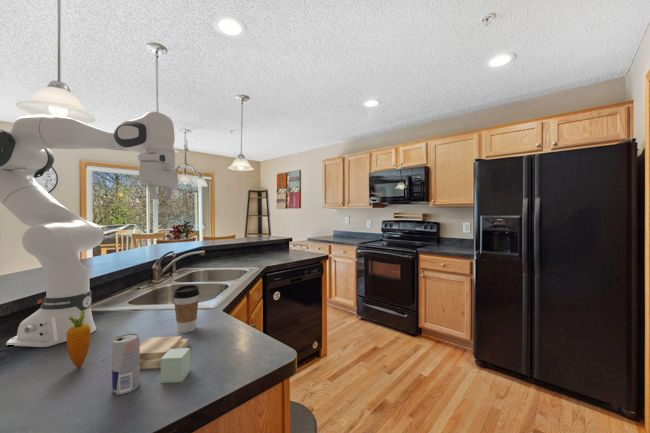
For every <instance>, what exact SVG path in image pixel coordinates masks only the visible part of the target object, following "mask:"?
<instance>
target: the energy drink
mask: <svg viewBox="0 0 650 433" xmlns="http://www.w3.org/2000/svg"><path fill="white" fill-rule="evenodd" d="M139 345H140V336H139V334H138V333H126V334H121V335H119V336H117V337H114V338H113V340H112V343H111V390H112V393H113V394H114V395H116V396H121V395H127V394H129V393H131V392H133V391H136V390H137V388H139V386H140V385H141V369H140V347H139ZM126 393H127V394H126Z"/></svg>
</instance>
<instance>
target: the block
mask: <svg viewBox="0 0 650 433" xmlns="http://www.w3.org/2000/svg"><path fill="white" fill-rule="evenodd" d="M190 371H191V348H190V347H187V348H178V349H170V350H169V351H168V352H167V353H166V354H165V355H164V356H163V357H162V358H161V368H160V384H166V383H182V382H184V380H185V379H186V377H187V376H188V375H189V373H190Z"/></svg>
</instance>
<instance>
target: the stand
mask: <svg viewBox="0 0 650 433" xmlns="http://www.w3.org/2000/svg"><path fill="white" fill-rule="evenodd" d="M189 346H190V338H183V336H182V335H179V336H157V337H156V336H155V337H147V338H146V339H144V340H143V341H142V342H141V343H139V347H140V370H146V369H148V370H149V369H150V370H151V369H161V358H162V357H163V356H164V355H165V354H166V353H167V352H168V351H169V350H170V349H178V348H189Z"/></svg>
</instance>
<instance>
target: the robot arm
mask: <svg viewBox="0 0 650 433" xmlns="http://www.w3.org/2000/svg"><path fill="white" fill-rule="evenodd" d="M175 138H176V137H175V127H174V123H173V120H172V118H170V117H169V116H168V115H165V114H164V113H162V112H158V111H147V112H146V113H145V114H143V115H142V116H141V117H138V118H135V119H130V120H123V121H121V122H119V123H118V124H117V125H115V127H114V130H113V131H107V130H104V129H101V128H98V127H96V126H93V125H90V124H88V123H85V122H83V121H81V120H78V119H75V118H71V117H68V116H64V115H63V116H62V115H56V114H55V115H54V114H34V115H33V114H32V115H25V116H20V117H18V118H16V119H15V120H14V121H13V123H12V128H11V130H9V131H7V130H5V129H3V128H2V129H1V128H0V203H1V204H2V205H3V206H4V207H5V208H6V209H7V210H8V211H9V212H10V213H12V215H13V216H14V217H15V218H16V219H17V220H19V222H21V223H22V224H24V225H26V226H28V227H29V228H28V229H26V231H24V233H23V235H22V238H21V242H22V243H21V244H22V247H23V249H24V250H25V251H26V252H27V253H28V254H30V255H31V256H34V257H35V258H36V259H37V261H38V262H39V263H40V265H41V267H42V269H43V272H44V277H45V292H46V293H45V294H46V296H44V297H42V298H40V299H38V300H36V301H37V303H36V304H40V303H41V305H40V308H38V309H37V310H36V311H35V312H34V313H32V314H31V315H29V316H27V317H26V318H24V319H23V320H22V321H21V322H20V323H19V326H18V328H17V331H16V332H17V334H16V336H13V337H11V338H9V340H7V341H6V344H5V345H6V346H8V345H14V346H13V347H33V348H47V347H52V346H55V345H58V344H61V343H64V342H65V343H67V331H68V329H69V328H70V327H72V326H75V325H74V324H73V322H72V321H71V320H70V319H68V317H69V316H70V317H74V319H78V320H79V317H80V315H81V311H85V316H84V319H83V322H82V324H88V325H90V334H92V333H94V332H95V331H96V330H97V327H96V325H95V322H94V318H93V314H92V309H91V308H92V290H91V289H90V284H91V283H90V269H89V267H88V266H87V265H84V264H83V263H82V262H81V260H80V257H79V253H80V252H81V253H82V252H87V251H90V250H92V249H94V248H96V247H98V246H99V245H101V244H102V242H103V241H104V238H105V232H104V230H103V228H102V227H101V226H100V225H99V224H97V223H94V222H91V221H89V220H87V219H85V218H83V217H81V216H80V215H78V214H76V213H75V212H73V211H72V210H70V209H68V208H67V207H65V206H64V205H63V204H62V203H60V202H58V200H56V199H55V198H54V197H53V196H52V195H51V194H50V193H49V192H47V191H46V190H45V188H43V187H42V186H41V185H40V184H39V183H38V182H37V181H36V180H35V179H36V178H40V177H43V176H44V174H45V173H46V172H48V171H49V170H51V168H52V167H53V165H54V163H55V154H54V153H53V152H52V151H51V149H54V150H116V151H124V152H135V153H137V161H138V162H139V163H138V176H139V181H140V183H141V184H142V185H147V188H148V189H147V190H148V192H149V194H150V199H151V200H158V199H159V194H158V191H157V188H163V189H164V191H165V195H164V196H163V198H164V201H165V202H166V201H167V202H171V201H172V195H173V192H174V191H173V190H178V188H179V176H178V171H177V169H175V166H176V152H175V148H174V144H175Z"/></svg>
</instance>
